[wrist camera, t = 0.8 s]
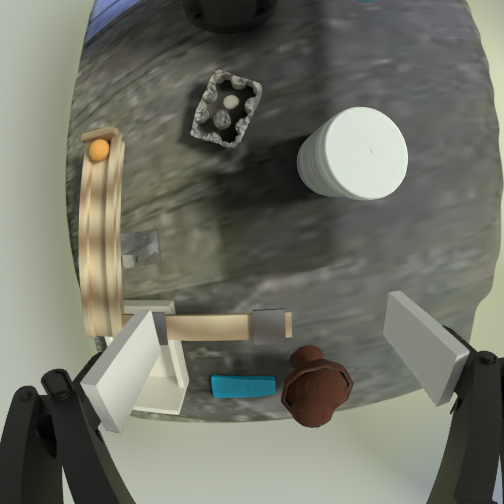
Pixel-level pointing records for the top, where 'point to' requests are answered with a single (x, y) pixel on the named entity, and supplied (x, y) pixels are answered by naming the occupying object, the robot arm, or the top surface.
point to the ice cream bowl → (315, 387)
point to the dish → (161, 367)
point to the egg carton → (230, 102)
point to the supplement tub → (354, 156)
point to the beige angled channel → (109, 267)
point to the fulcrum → (139, 248)
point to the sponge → (242, 386)
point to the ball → (99, 149)
